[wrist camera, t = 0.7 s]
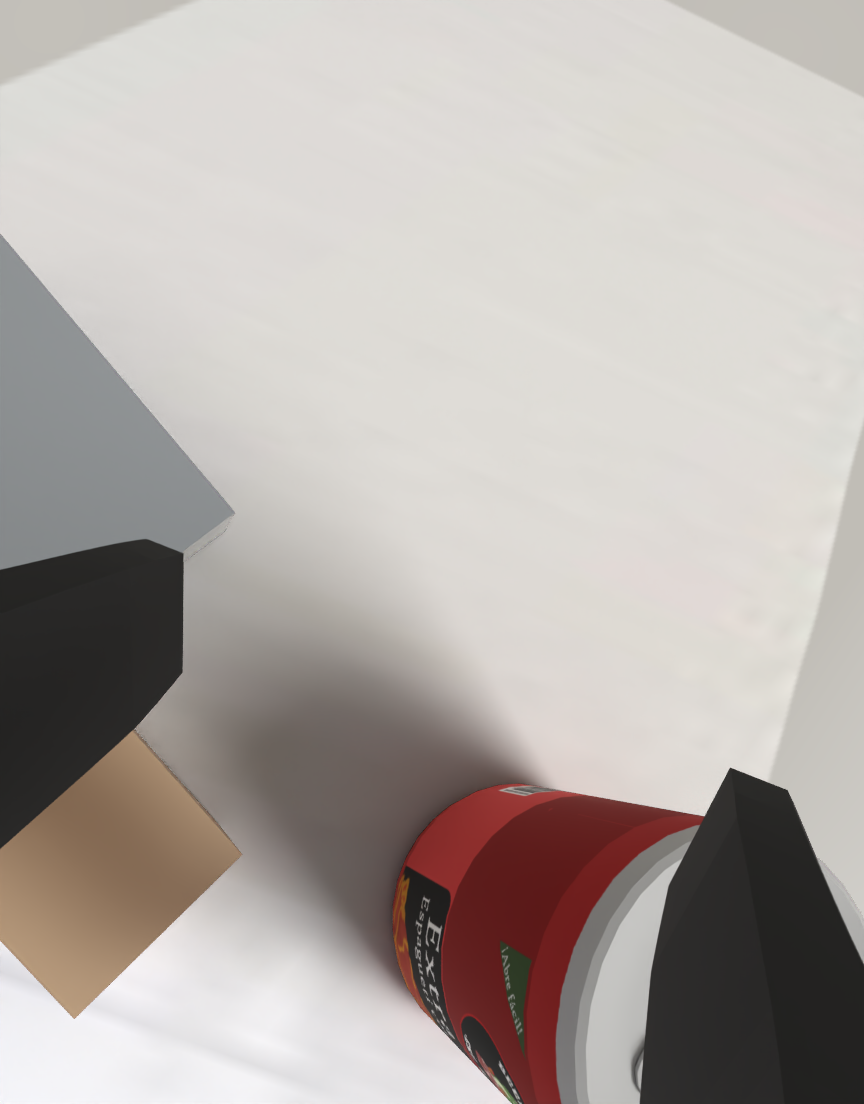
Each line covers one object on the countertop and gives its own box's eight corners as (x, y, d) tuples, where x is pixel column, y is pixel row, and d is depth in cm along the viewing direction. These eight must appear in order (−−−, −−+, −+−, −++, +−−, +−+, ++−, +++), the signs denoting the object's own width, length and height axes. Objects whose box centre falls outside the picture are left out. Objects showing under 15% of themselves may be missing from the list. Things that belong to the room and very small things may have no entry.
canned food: (338, 882, 23) (498, 1015, 13) (527, 733, 26) (772, 748, 16) (465, 1092, 23) (718, 1383, 13) (637, 918, 27) (945, 1045, 17)
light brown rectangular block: (86, 950, 20) (74, 1018, 16) (-28, 827, 20) (-74, 862, 15) (219, 824, 22) (242, 854, 18) (117, 710, 22) (114, 710, 17)
